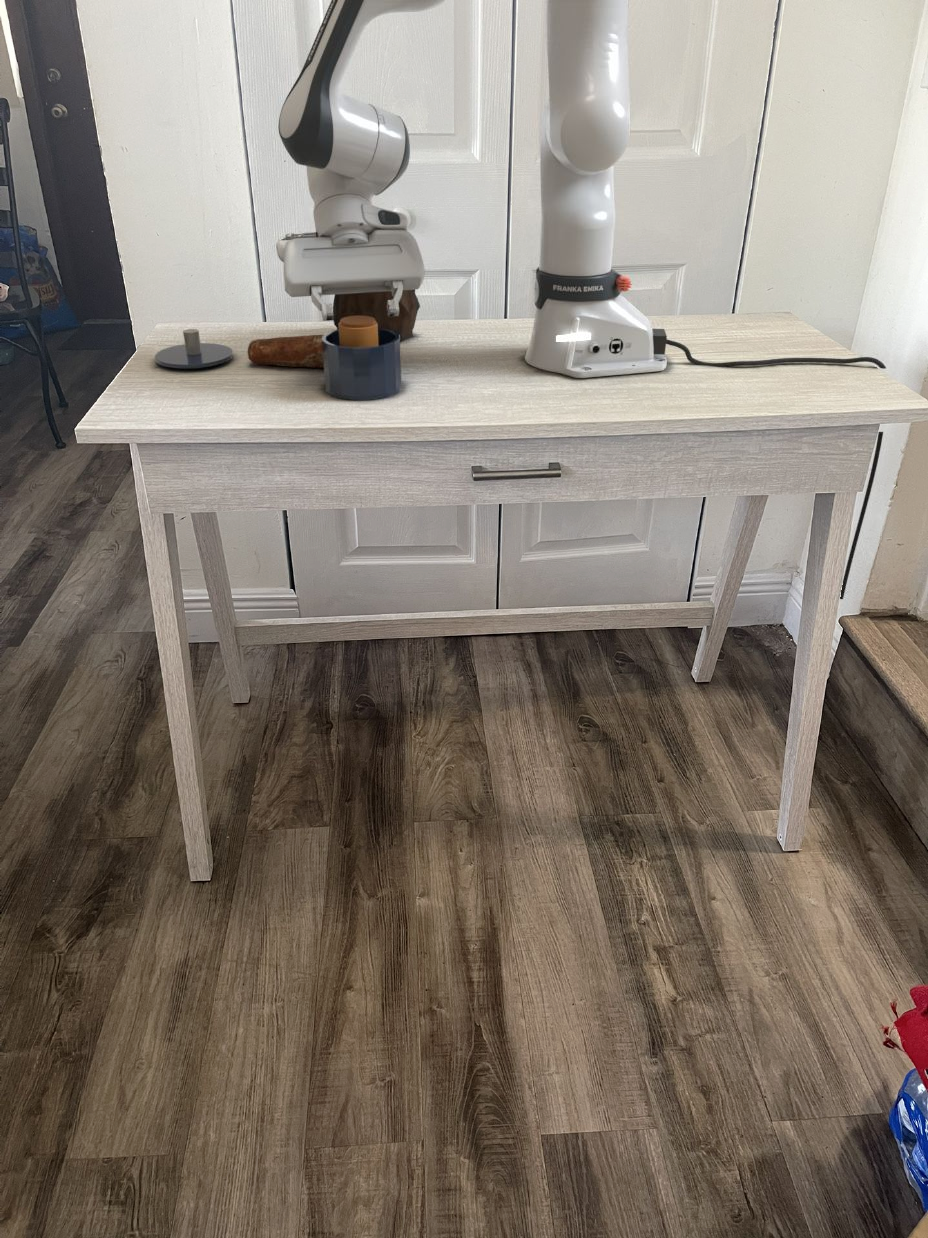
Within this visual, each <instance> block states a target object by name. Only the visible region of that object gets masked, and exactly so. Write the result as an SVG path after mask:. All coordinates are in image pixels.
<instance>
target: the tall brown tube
mask: <svg viewBox="0 0 928 1238" xmlns="http://www.w3.org/2000/svg"><path fill="white" fill-rule="evenodd" d="M338 327H339V342H340V346H346V347H371V346H378V324H377V322H376V321H375V318H373V317H370V316H348V317H344V318H342V319H341V320H340V322H339V324H338Z"/></svg>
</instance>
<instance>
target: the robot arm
mask: <svg viewBox="0 0 928 1238" xmlns="http://www.w3.org/2000/svg"><path fill="white" fill-rule="evenodd" d="M447 1H448V0H330V2H329V5H328V7H327V10H326V12H325V14H324V17H323V19H322V22H321V24H320V25H319V26H320V27H319V29H318V31H317V33H316V37H315V39H314V40H313V43H312V45H311V48H310V49H309V53H308V55H307V56H306V60H305V62H304V65H303V66H302V69H301V71H300V73H299V75H298V77H297V79H296V80H295V81H294V84H293V85H292V87H291V89H290V91H289V92H288V93H287V96H286V97H285V100H284V102H283V104H282V107H281V110H280V114H279V117H278V127H277V128H278V134H279V137H280V141H281V142H282V144H283V146H284V148H285V150H286V151H287V153H288V155H289V157H291V159H292V160H293V161H294V163H296V164H297V165H301V166H304V167H306V177H307V185H308V190H309V195H310V197H311V199H312V201H313V211H312V214H313V215H312V216H313V220H314V227H315V231H314V232H313V231H312V232H311V231H310V232H302V233H294V232H291V233H286V234H285V236H283V237H281V238H279V239H278V241H277V242H276V246H275V247H276V253H277V257H278V259H279V260H280V261H281V263H283V284H284V291H285V292H286V294H287V295H288V296H290V297H291V298H300V297H310V298H311V302H312V304H313V305H314V306H315V307H316V309H318V310H319V312H321V318H322V322H327V321H328V322H330V321H333V317H334V315H333V303H326V302H325V300H324V299H323V297H322V296H333V295H334V296H335V294H352V293H368V292H384V291H391V292H392V296H394V299H393V300H388V301H387V311H388V317H389V316H399V304H398V303H399V301H400V299H401V296H402V292H403V290H415V291H416V290H419V289H420V287H421V286H422V285H423V283H424V280H425V275H426V271H425V270H426V268H425V265H424V259H423V256H422V253H421V250H420V247H419V244H418V241H417V239H416V238H415V236H414V235H413V234H412V233H411V232H410V231H409V221H408V217H407V215H406V214H405V213H402V212H399V211H393V210H389V209H386V208H383V207H379V206H376V205H373V203H372V201H373V198H374V196H379V195H380V194H382V193H384V192H385V191H386V190H388V189H389V188H390V187H391V186H392V185H393V184H395V183H397V181H398V180H399V179H400V178H401V177H403V175H404V174H405V172H406V170H407V169H408V166H409V162H410V158H411V143H410V135H409V132H408V128H407V125H406V123H405V121H404V120H403V118H402V117H401V116H400V115H397V114H395V113H393V112H391V111H389V110H386V109H383V108H381V107H379V106H376V105H373V104H371V103H366V102H364V101H361V100H359V99H356V98H354V97H351V96H348V95H346V94H343V93H341V92H340V85H341V83H342V80H343V78H344V75H345V73H346V70H347V69H348V66H349V64H350V62H351V58H352V57H353V55H354V52H355V51H356V47H357V46H358V44H359V42H360V41H359V40H360V39H361V36H362V34H363V32H364V30H365V29H366V27H367V26H368V25H369V24H370V23H371V22H372V21H374V20H375V19H377V18H379V17H381V16H384V15H387V14H392V13H393V14H395V13H396V14H397V13H419V12H424V11H429V10H433V9H435V8H437V7H439V6H441V5H442V4H444V3H446V2H447ZM628 22H629V0H545V41H546V53H547V71H548V72H547V73H548V97H549V98H548V99H547V102H546V103H545V105H544V107H543V110H542V113H541V118H540V138H539V139H540V140H539V141H540V143H539V145H540V149H539V150H540V151H539V152H540V153H539V154H540V159H539V160H540V163H539V164H540V165H539V167H540V170H539V171H540V175H539V176H540V210H541V211H540V231H539V232H540V233H539V234H540V235H539V255H538V256H539V259H538V267H536V270H535V277H534V289H533V290H534V291H533V292H534V293H533V303H534V306H535V314H534V320H533V326H532V331H531V336H530V340H529V344H528V347H527V351H526V354H525V356H524V360H525V362H526V363H527V364H528V365H530V366H532V367H534V368H536V369H540V370H543V371H547V372H552V373H557V374H563V375H566V376H568V377H571V378H575V379H584V378H585V379H586V378H598V377H608V376H619V375H630V374H641V373H654V372H662V371H664V370H666V368H667V365H668V364H667V362H668V360H667V356H666V347H667V345H668V346H672V347H675V348H678V349H680V350H682V351H683V352H684V354H685V357H686V359H687V360H688V362H690V363H692V364H693V365H696V366H706V367H717V368H729V367H731V368H732V367H751V366H752V367H754V366H766V365H774V364H786V363H787V364H788V363H790V364H791V363H819V364H820V363H821V364H855V363H864V362H865V363H872V364H874V365H876V366H877V367H878V368H880V369H883V370H885V369H887V366H886V365H885V364H884V363H883V361H881V360H880V359H877V358H875V357H872V356H859V357H853V358H851V357H850V358H833V357H782V358H772V359H771V358H770V359H762V360H761V359H760V360H736V361H725V362H705V361H701V360H699V359H696V358H694V357H693V356H692V353H691V351H690V349H689V347H687V346H686V345H685V344H683V343H680V342H678V341H674V340H672V339H667V338H668V336H667V333H666V330H665V328H653V327H652V324H651V322H650V321H649V319H648V317H646V316H645V315H644V314H643V313H642V312H641V311H640V310H639V309H638V308H636V307H635V306H634V305H633V304H632V303H631V302H630V301H629V300H628V299H626V298H625V297H624V296H623V295H622V294H621V293H622V292H625V293H626V292H628V291H630V289H631V287H632V284H633V283H632V281H631V279H630V278H629V277H628V276H627V275H622V274H621V273H619V272H617V271H616V270H615V269H613V268H612V262H613V251H614V250H613V249H614V237H615V226H616V225H615V224H616V206H615V185H614V181H615V179H614V177H615V176H614V171H615V170H614V169H615V168H614V166H615V165H616V164H617V162H619V161H620V159H621V158H622V156H623V155H624V153H625V152H626V150H627V148H628V146H629V145H628V144H629V142H630V138H631V137H630V136H631V88H630V85H631V84H630V60H629V43H628V42H629V41H628V40H629V39H628V27H629V26H628V24H629V23H628ZM883 437H884V431H878V433H877V440H876V445H875V451H874V454H873V455H874V456H873V460H872V466H871V470H870V474H869V477H868V483H867V486H866V490H865V495H864V499H863V502H862V506H861V510H860V513H859V517H858V521H857V525H856V528H855V532H854V535H853V540H852V544H851V548H850V551H849V555H848V559H847V562H846V567H845V572H844V575H843V578H842V583H843V585H842V584H841V587H842V590H841V589H840V592H841V597H840V599H839V600H844V597H845V593H846V589H847V584H848V580H849V576H850V572H851V567H852V564H853V561H854V560H853V559H854V556H855V552H856V549H857V545H858V542H859V541H858V540H859V537H860V533H861V529H862V526H863V523H864V518H865V514H866V511H867V507H868V504H869V500H870V496H871V492H872V488H873V485H874V480H875V477H876V476H875V475H876V471H877V467H878V463H879V458H880V453H881V448H882V443H883Z"/></svg>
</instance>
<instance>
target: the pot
mask: <svg viewBox="0 0 928 1238" xmlns="http://www.w3.org/2000/svg"><path fill="white" fill-rule="evenodd" d="M322 350H323V363H324V368H323V374H324V387H325V391H326V393H328V394H329V396H330V395H331V396H332V397H335V398H338V399H343V400H347V401H348V400H349V401H350V400H351V401H372V400H373V401H374V400H380V399H385V398H389V397H392V396H394V395H396V394H398V393H399V392H400V391H401V390H402V361H401V360H402V359H401V358H402V357H401V341H400V335H399V334H398V333H396V332H394V331H392V330H388V329H383V328H378V346H371V347H346V346H340V342H339V330H337V329H336V330H331V331H328V332H326V333H325V335H324V336H322Z"/></svg>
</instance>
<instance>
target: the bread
mask: <svg viewBox="0 0 928 1238" xmlns="http://www.w3.org/2000/svg"><path fill="white" fill-rule="evenodd" d="M325 334H326V333H325ZM325 334H324V333H323V334H309V335H296V336H295V335H294V336H279V337H269V338H260V339H259V338H258V339H253V340H252V341H251V342H249V344H248V346H247V359H248V361H250V362H251V363H252V364H254V365H255V364H256V365H265V366H269V365H270V366H279V367H292V368H293V367H294V368H298V367H302V368H320V369H324V363H323V350H322V336H324V335H325Z"/></svg>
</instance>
